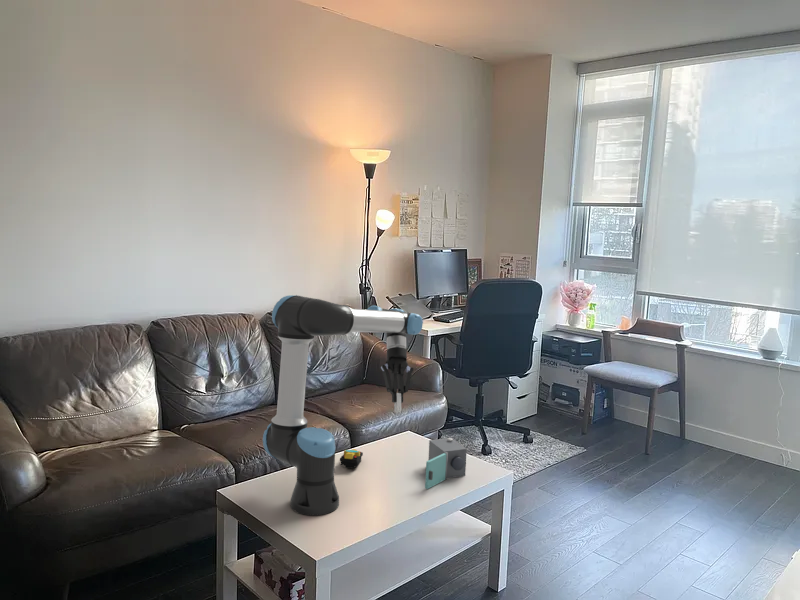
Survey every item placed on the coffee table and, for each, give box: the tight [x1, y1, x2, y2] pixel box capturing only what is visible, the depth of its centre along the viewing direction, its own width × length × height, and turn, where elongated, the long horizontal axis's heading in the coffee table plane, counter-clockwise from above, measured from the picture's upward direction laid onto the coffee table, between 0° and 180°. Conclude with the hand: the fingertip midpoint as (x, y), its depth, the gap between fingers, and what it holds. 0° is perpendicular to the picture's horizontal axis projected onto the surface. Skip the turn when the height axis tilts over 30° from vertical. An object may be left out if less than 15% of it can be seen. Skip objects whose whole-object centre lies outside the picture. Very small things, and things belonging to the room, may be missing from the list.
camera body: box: [427, 437, 467, 479], centre depth 221 cm, size 9×14×11 cm, turn 23°
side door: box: [424, 452, 448, 490], centre depth 209 cm, size 12×2×10 cm, turn 142°
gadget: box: [339, 448, 364, 469], centre depth 225 cm, size 6×13×6 cm, turn 171°
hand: (397, 411), depth 221 cm, fingers closed
